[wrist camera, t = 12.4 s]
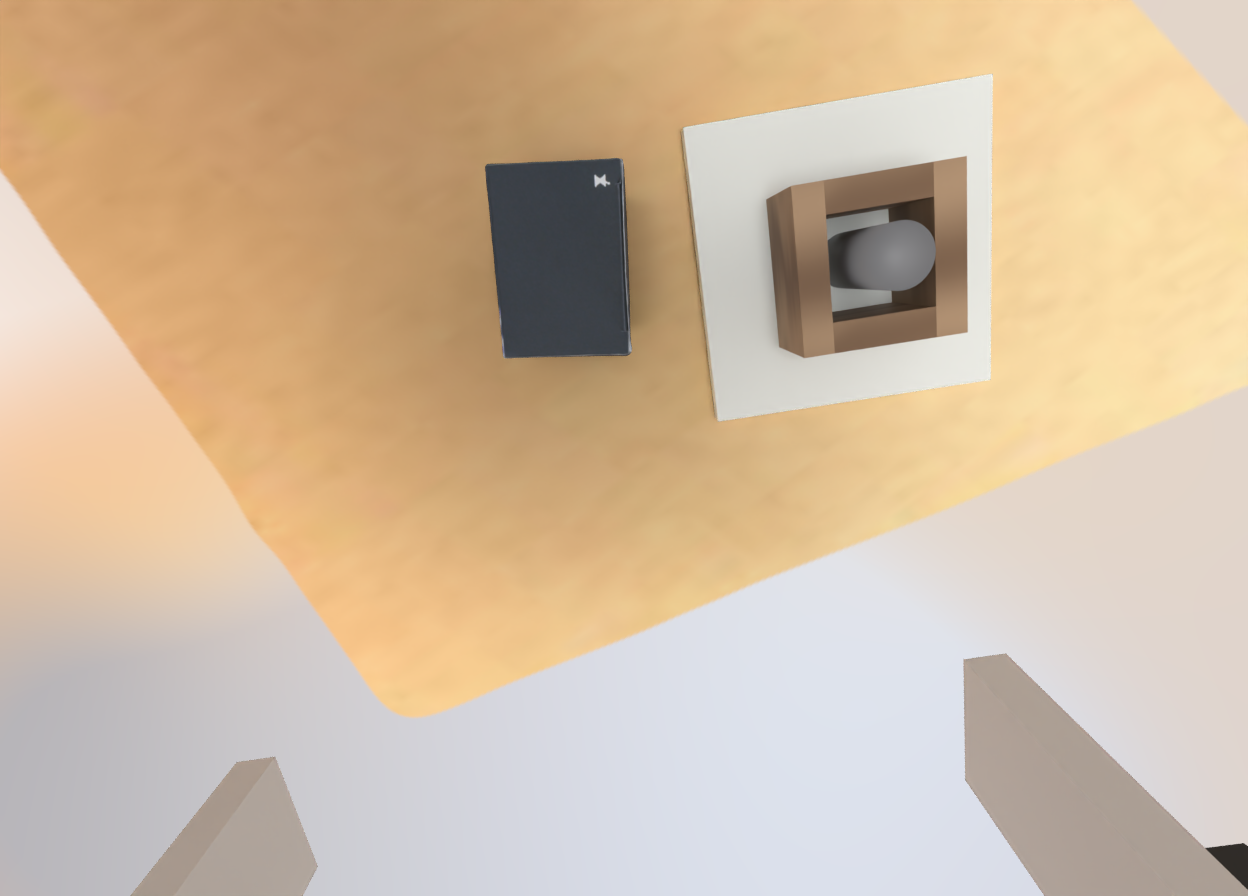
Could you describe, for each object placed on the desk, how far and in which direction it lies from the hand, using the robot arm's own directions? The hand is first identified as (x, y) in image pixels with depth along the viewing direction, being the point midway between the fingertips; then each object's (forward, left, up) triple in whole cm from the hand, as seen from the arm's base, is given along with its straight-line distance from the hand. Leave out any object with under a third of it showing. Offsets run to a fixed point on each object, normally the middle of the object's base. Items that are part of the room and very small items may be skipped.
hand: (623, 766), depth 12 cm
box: (-10, -1, -27) cm, 29 cm away
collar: (-8, +14, -26) cm, 30 cm away
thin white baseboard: (-8, +14, -27) cm, 31 cm away
